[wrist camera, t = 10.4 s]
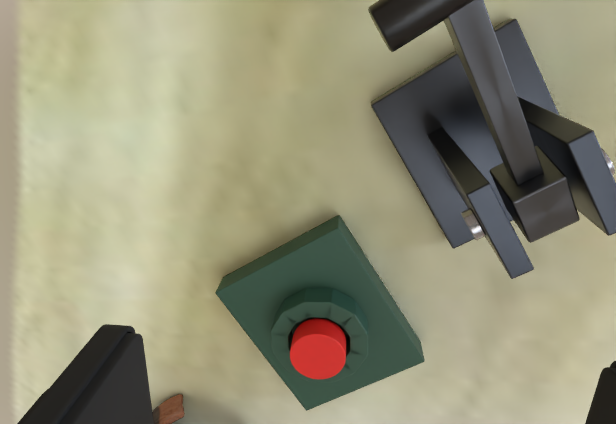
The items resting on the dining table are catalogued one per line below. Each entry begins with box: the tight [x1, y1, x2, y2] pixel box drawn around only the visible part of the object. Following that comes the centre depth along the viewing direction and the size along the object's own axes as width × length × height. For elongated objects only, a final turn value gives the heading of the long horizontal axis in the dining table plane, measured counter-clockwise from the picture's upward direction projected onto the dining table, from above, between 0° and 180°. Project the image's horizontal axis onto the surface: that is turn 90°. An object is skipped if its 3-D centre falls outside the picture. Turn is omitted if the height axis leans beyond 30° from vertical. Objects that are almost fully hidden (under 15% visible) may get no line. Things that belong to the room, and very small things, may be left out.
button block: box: [216, 215, 424, 410], centre depth 33 cm, size 12×10×4 cm
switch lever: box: [368, 0, 579, 243], centre depth 17 cm, size 12×5×2 cm, turn 33°
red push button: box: [290, 318, 346, 379], centre depth 31 cm, size 4×4×2 cm
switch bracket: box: [371, 19, 616, 279], centre depth 24 cm, size 11×9×12 cm
